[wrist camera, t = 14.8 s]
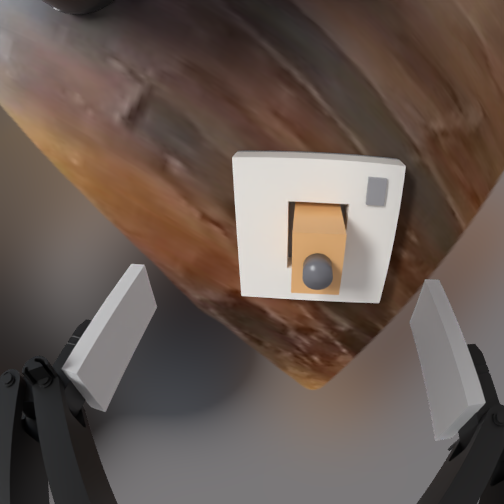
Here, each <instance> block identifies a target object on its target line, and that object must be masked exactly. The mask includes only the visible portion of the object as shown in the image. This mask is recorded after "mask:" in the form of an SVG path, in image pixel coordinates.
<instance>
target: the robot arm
mask: <svg viewBox="0 0 504 504" xmlns="http://www.w3.org/2000/svg"><path fill="white" fill-rule="evenodd" d="M42 1H43V2H45V3H47V4H49V5H50V6H51V7H53V8H54V9H55V10H57V11H60V12H63V13H69V14H87V13H91V12H94V11H97V10H99V9H101V8H103V7H105V6H107V5H108V4H110V3H111V2H113V1H114V0H42ZM156 308H157V306H156V302H155V299H154V295H153V292H152V289H151V286H150V282H149V278H148V275H147V271H146V268H145V265H139V264H131V265H130V267H129V268H128V269H127V271H126V272H125V274H124V275H123V276H122V278H121V279H120V281H119V282H118V283H117V285H116V286H115V287H114V289H113V290H112V292H111V293H110V295H109V296H108V297H107V299H106V300H105V302H104V303H103V305H102V306H101V308H100V309H99V311H98V312H97V314H96V315H95V317H94V318H93V320H92V321H91V320H85V321H84V322H83V323H82V324H80V325H79V326H78V327H77V329H76V330H75V332H74V333H73V335H72V337H71V338H70V339H69V341H68V344H66V345H65V347H64V348H63V350H62V351H61V353H60V355H59V356H58V358H57V360H56V361H55V363H54V364H53V366H51V364H50V363H49V362H48V360H47V359H46V358H45V357H43V356H35V357H33V358H31V359H29V360H28V361H27V362H26V363H25V365H24V367H23V370H22V374H23V375H24V376H25V377H22V376H21V374H20V373H19V372H18V371H17V370H15V369H9V370H7V371H5V372H4V373H3V374H2V375H1V377H0V504H49V493H48V492H49V491H48V481H49V485H50V488H51V492H52V495H53V499H54V502H55V504H117V501H116V499H115V497H114V494H113V492H112V489H111V487H110V485H109V482H108V479H107V477H106V474H105V472H104V469H103V466H102V464H101V461H100V457H99V455H98V452H97V449H96V446H95V442H94V439H93V436H92V433H91V429H90V426H89V422H88V419H87V415H86V411H85V409H84V407H83V404H84V402H85V400H86V402H87V403H88V404H89V405H90V406H91V407H92V408H95V409H98V410H101V411H104V412H105V411H106V410H107V407H108V405H109V403H110V401H111V399H112V397H113V394H114V392H115V390H116V388H117V386H118V384H119V382H120V379H121V378H122V375H123V373H124V371H125V369H126V367H127V365H128V363H129V361H130V359H131V357H132V355H133V353H134V351H135V349H136V347H137V345H138V343H139V341H140V339H141V337H142V335H143V333H144V331H145V329H146V327H147V325H148V323H149V322H150V320H151V318H152V316H153V314H154V312H155V310H156ZM410 326H411V329H412V333H413V337H414V341H415V344H416V348H417V352H418V356H419V360H420V364H421V368H422V373H423V377H424V382H425V387H426V391H427V396H428V401H429V407H430V412H431V417H432V423H433V429H434V436H435V440H436V441H437V440H443V439H449V438H452V437H453V436H454V435H455V434H456V433H457V432H458V433H459V439H458V440H457V441H456V442H455V443H454V444H453V445H451V446H450V448H449V449H448V450H449V451H450V450H451V449H452V448H453V449H452V451H451V452H450V454H449V456H448V457H447V459H446V461H445V462H444V464H443V466H442V467H441V469H440V470H439V472H438V474H437V475H436V477H435V478H434V480H433V481H432V483H431V484H430V486H429V487H428V489H427V490H426V492H425V493H424V494H423V496H422V497H421V498H420V500H419V501H418V503H417V504H477V502H478V500H479V499H480V500H479V504H504V406H503V405H501V404H500V403H499V400H498V397H497V394H496V390H495V387H494V384H493V381H492V378H491V375H490V374H489V370H488V367H487V365H486V362H485V359H484V356H483V354H482V352H481V351H480V349H479V348H478V347H477V346H476V345H475V344H468V345H467V344H466V342H465V339H464V336H463V334H462V331H461V329H460V327H459V324H458V321H457V319H456V317H455V314H454V312H453V309H452V307H451V305H450V303H449V300H448V298H447V296H446V294H445V291H444V289H443V287H442V285H441V283H440V281H439V280H434V279H425V281H424V284H423V287H422V290H421V292H420V295H419V298H418V301H417V304H416V306H415V309H414V312H413V314H412V317H411V319H410ZM22 414H23V415H22ZM21 417H22V418H21Z"/></svg>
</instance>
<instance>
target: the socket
mask: <svg viewBox="0 0 504 504" xmlns="http://www.w3.org/2000/svg"><path fill="white" fill-rule="evenodd" d="M232 164H233V180H234V196H235V211H236V226H237V240H238V255H239V269H240V282H241V296H251V297H266V298H281V299H297V300H316V301H337V302H362V303H379V302H380V299H381V295H382V291H383V287H384V283H385V279H386V275H387V270H388V266H389V261H390V257H391V252H392V247H393V243H394V238H395V232H396V227H397V222H398V216H399V210H400V204H401V198H402V191H403V184H404V177H405V169H406V166H405V165H404V164H403V163H402V162H401V161H400V160H399V159H396V158H387V157H377V156H366V155H353V154H339V153H322V152H299V151H237V152H236V154H235V155H234V156H233V157H232ZM295 202H316V203H334V204H340V207H341V211H342V216H343V220H344V225H345V229H346V234H347V236H346V245H345V254H344V262H343V270H342V277H341V284H340V291H339V295H329V294H306V293H291V274H292V231H293V221H294V211H295Z"/></svg>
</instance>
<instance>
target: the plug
mask: <svg viewBox="0 0 504 504" xmlns="http://www.w3.org/2000/svg"><path fill="white" fill-rule="evenodd" d="M346 236H347V234H346V229H345V225H344V220H343V216H342V211H341V207H340V204H334V203H316V202H295V211H294V221H293V231H292V274H291V293H306V294H329V295H339V291H340V284H341V277H342V270H343V262H344V254H345V245H346Z"/></svg>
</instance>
